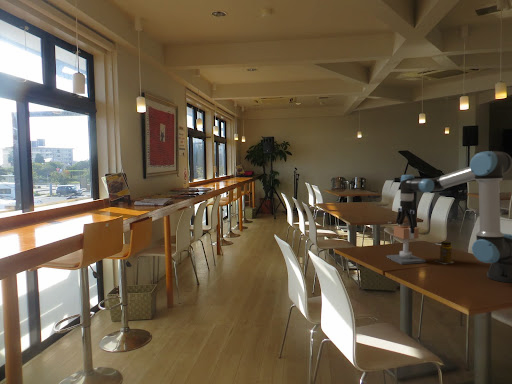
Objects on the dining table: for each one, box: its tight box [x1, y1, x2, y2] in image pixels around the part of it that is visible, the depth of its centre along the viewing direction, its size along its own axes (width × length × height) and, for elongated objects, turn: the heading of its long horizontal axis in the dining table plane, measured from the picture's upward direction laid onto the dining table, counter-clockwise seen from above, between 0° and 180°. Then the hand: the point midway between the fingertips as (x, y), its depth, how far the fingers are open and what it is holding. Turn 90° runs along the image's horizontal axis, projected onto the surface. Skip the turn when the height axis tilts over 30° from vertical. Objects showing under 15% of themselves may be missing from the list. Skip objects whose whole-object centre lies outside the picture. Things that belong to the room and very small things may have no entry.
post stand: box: [385, 239, 427, 265], centre depth 227 cm, size 16×16×16 cm
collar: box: [393, 225, 420, 240], centre depth 227 cm, size 10×10×6 cm
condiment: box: [435, 240, 455, 265], centre depth 223 cm, size 7×8×12 cm
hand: (405, 236), depth 227 cm, fingers closed on collar, 10 cm apart
